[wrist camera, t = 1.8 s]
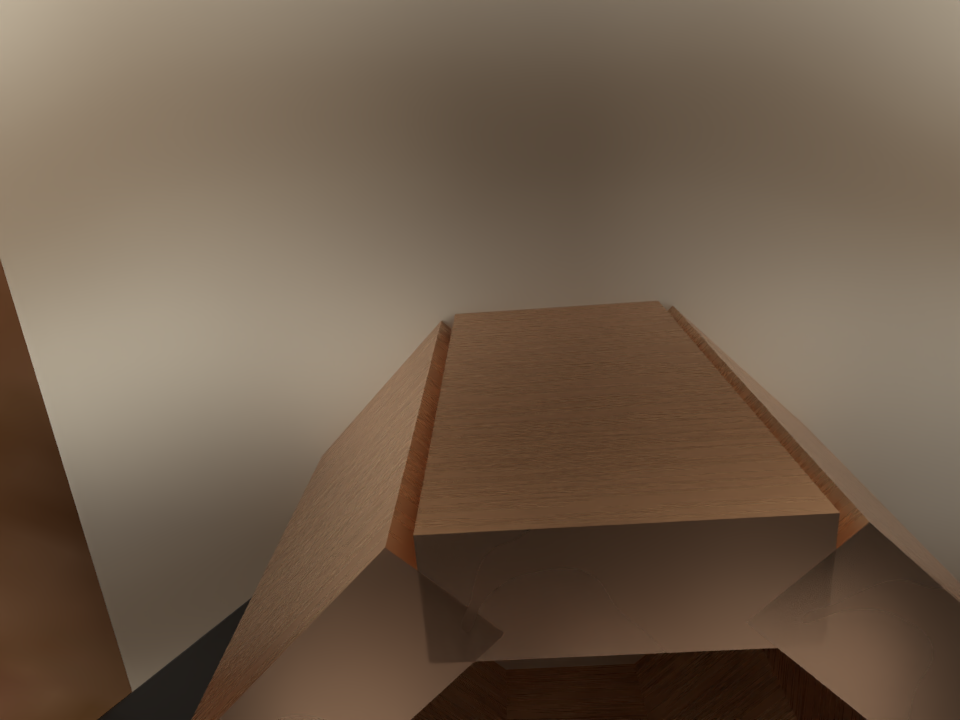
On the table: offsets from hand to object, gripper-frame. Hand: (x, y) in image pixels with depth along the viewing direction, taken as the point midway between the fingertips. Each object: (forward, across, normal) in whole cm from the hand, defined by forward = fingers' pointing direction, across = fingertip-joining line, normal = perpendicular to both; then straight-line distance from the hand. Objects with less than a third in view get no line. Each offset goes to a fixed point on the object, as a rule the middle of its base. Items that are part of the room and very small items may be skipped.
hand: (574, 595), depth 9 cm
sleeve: (+1, 0, 0) cm, 1 cm away
